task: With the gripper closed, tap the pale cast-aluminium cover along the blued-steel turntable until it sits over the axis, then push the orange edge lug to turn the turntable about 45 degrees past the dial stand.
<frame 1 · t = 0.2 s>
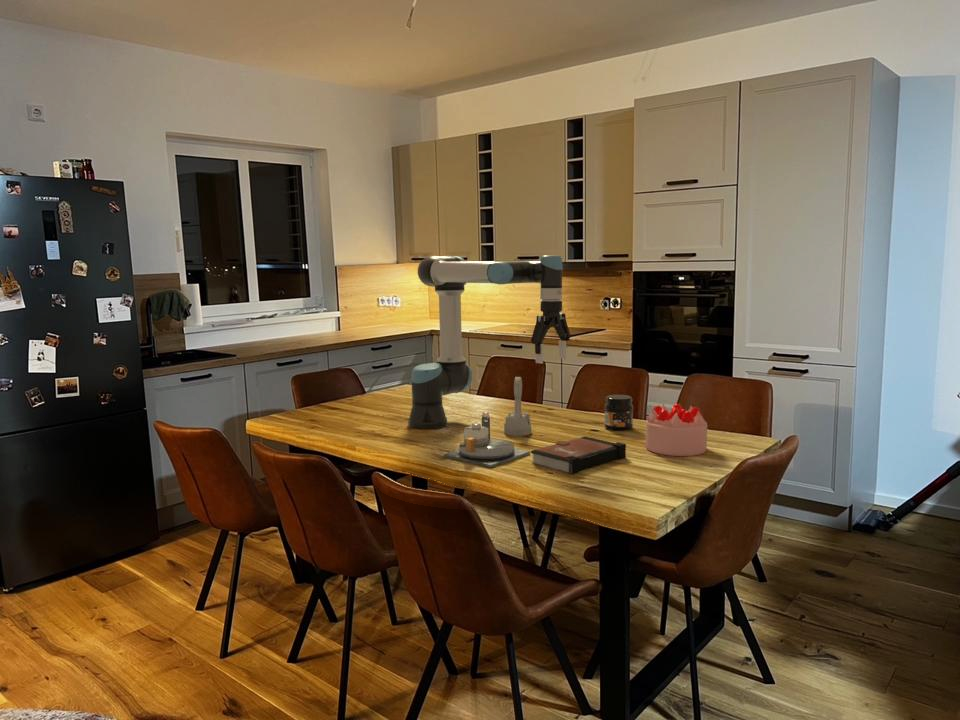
hand: (551, 361, 255), 28 cm above the table, fingers open, 13 cm apart
cover: (476, 443, 239), point 3 cm above the table, touching turntable
base plate: (486, 455, 237), on the table
book: (578, 462, 231), on the table
cake: (676, 449, 243), on the table
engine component: (517, 432, 269), on the table
turntable: (486, 442, 236), point 4 cm above the table, hinge at 0.0°, touching cover
supplement container: (618, 428, 273), on the table
dial stand: (486, 446, 249), resting on base plate
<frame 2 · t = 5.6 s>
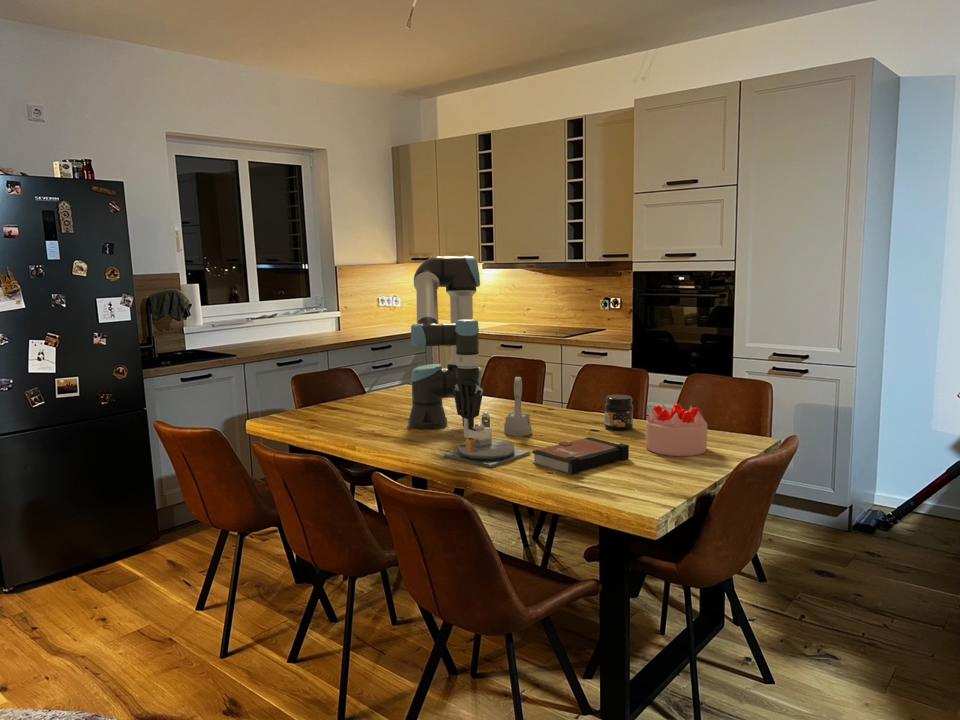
hand: (468, 437, 241), 5 cm above the table, fingers closed
cover: (479, 444, 239), point 3 cm above the table, touching gripper
turntable: (486, 442, 236), point 4 cm above the table, hinge at 0.0°
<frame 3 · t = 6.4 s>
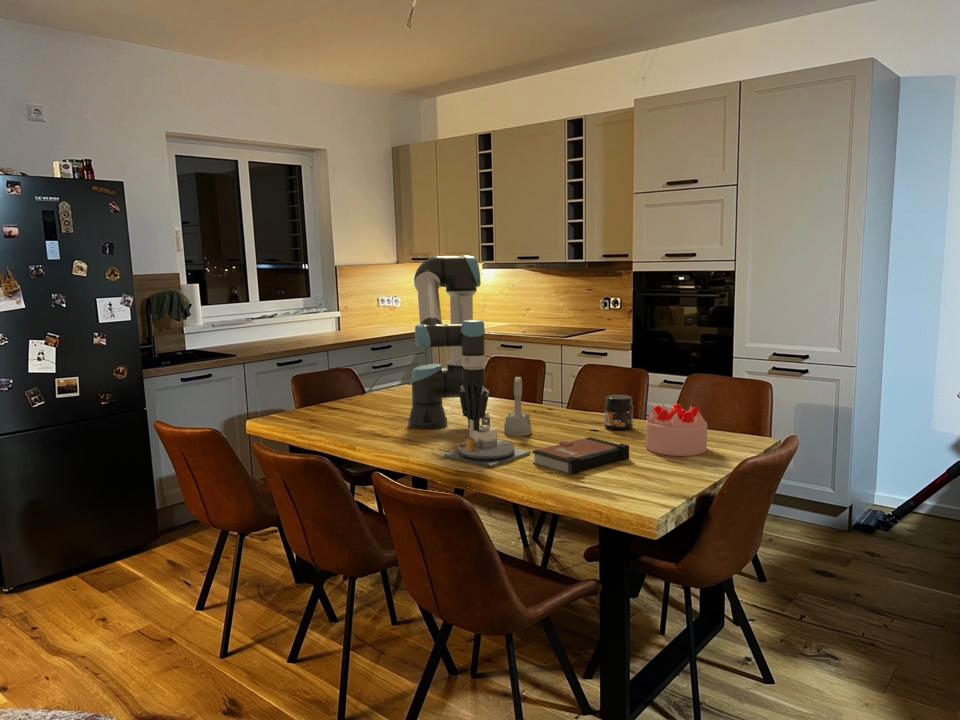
hand: (474, 438, 240), 5 cm above the table, fingers closed
cover: (485, 445, 237), point 3 cm above the table, touching gripper
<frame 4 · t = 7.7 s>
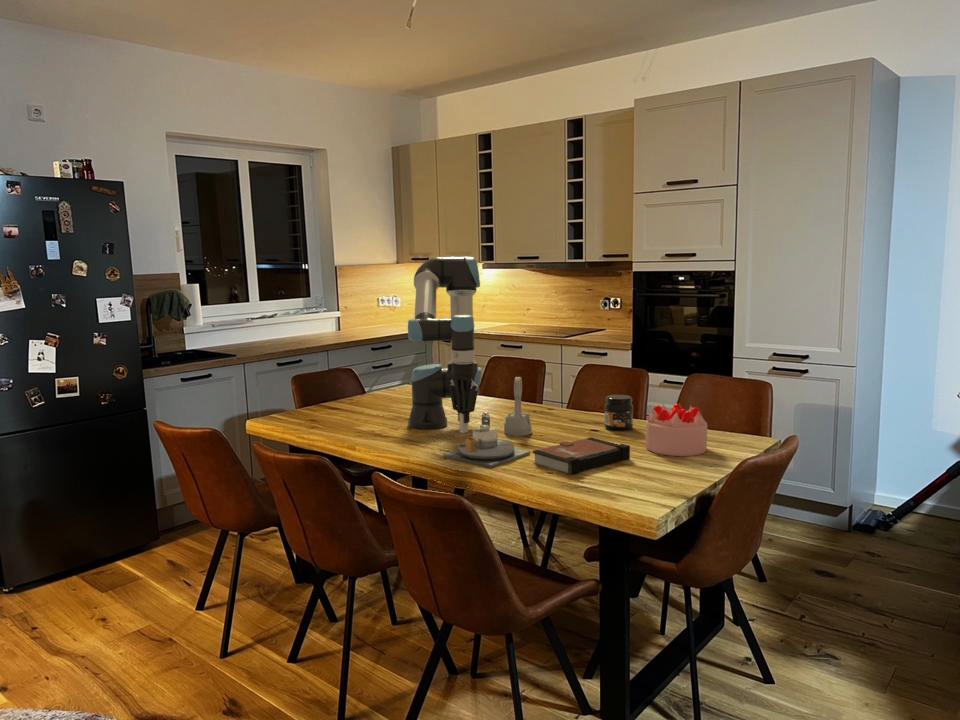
hand: (463, 431, 243), 6 cm above the table, fingers closed
cover: (485, 445, 237), point 3 cm above the table, touching turntable
turntable: (486, 442, 236), point 4 cm above the table, hinge at 0.1°, touching cover
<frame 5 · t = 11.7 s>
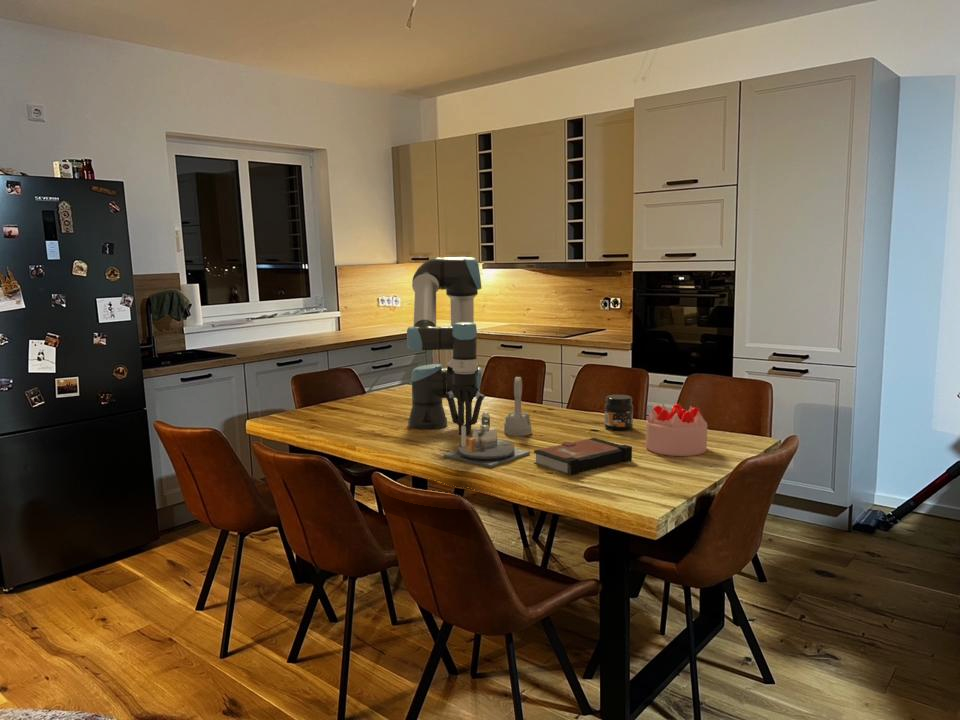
hand: (464, 445, 231), 5 cm above the table, fingers closed
turntable: (486, 442, 236), point 4 cm above the table, hinge at 1.8°, touching cover, gripper
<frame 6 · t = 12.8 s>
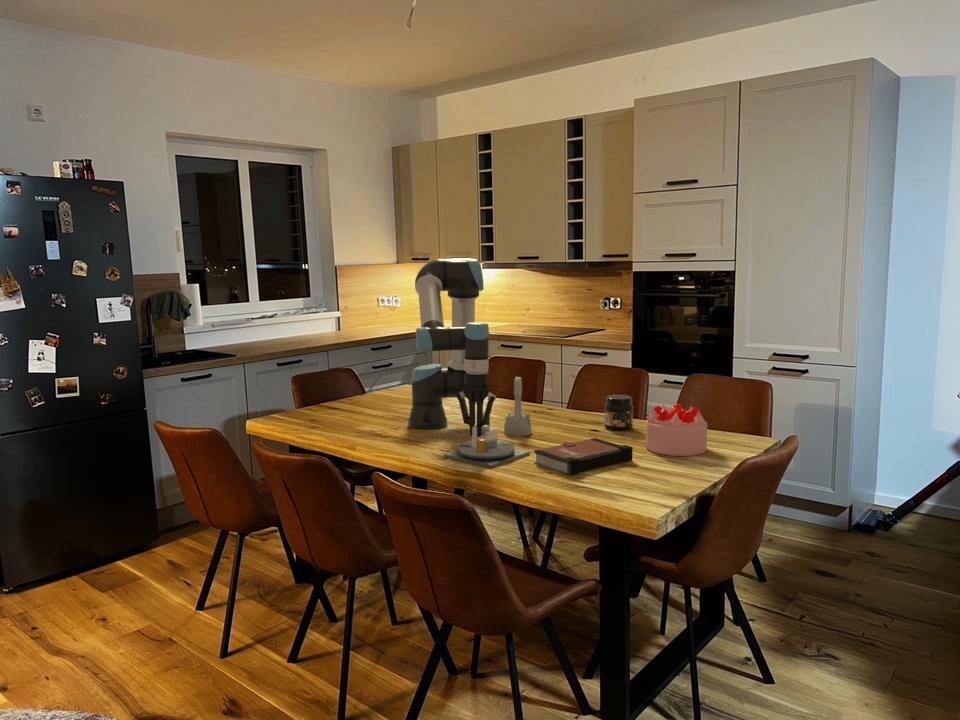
hand: (475, 446, 229), 5 cm above the table, fingers closed
turntable: (486, 442, 236), point 4 cm above the table, hinge at 28.4°, touching cover, gripper
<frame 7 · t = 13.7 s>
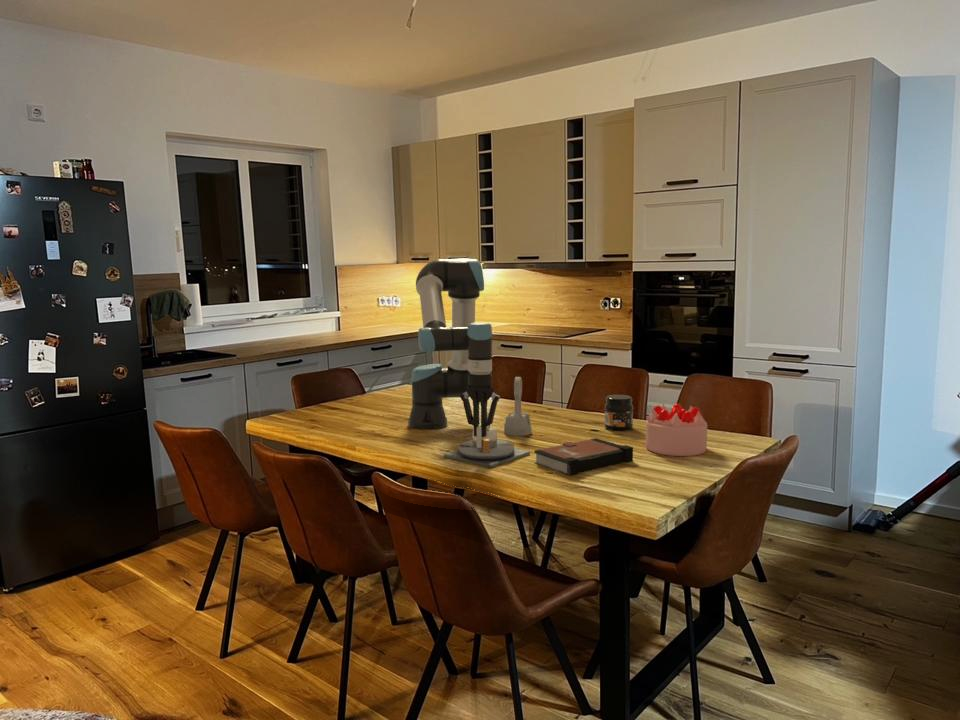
hand: (480, 446, 229), 5 cm above the table, fingers closed
turntable: (486, 442, 236), point 4 cm above the table, hinge at 39.1°, touching cover, gripper
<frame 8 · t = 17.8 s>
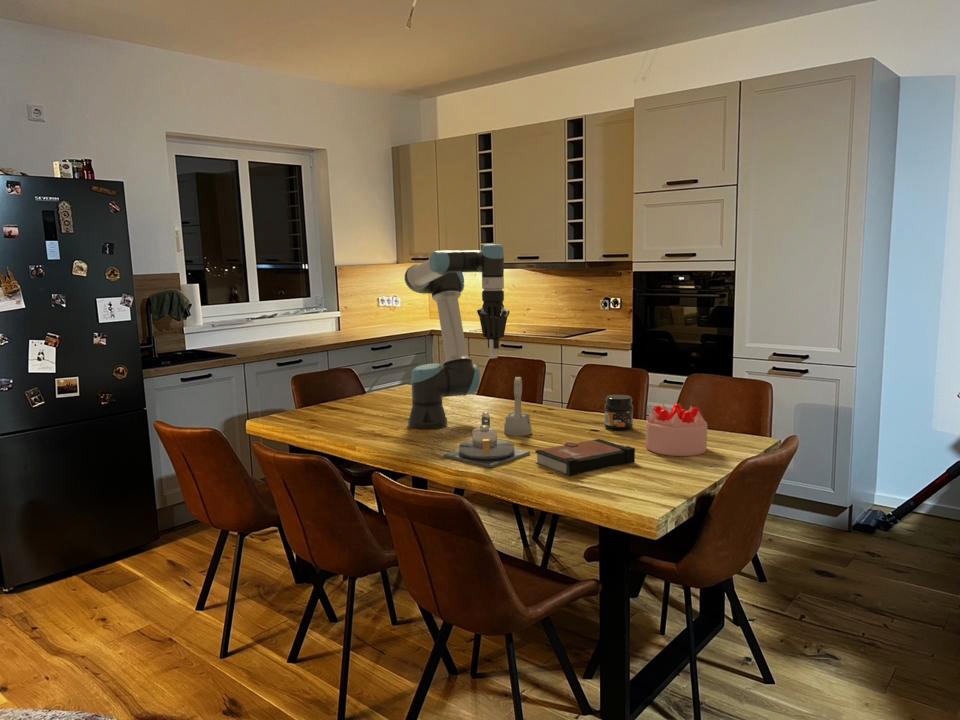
hand: (493, 357, 253), 29 cm above the table, fingers closed
turntable: (486, 442, 236), point 4 cm above the table, hinge at 39.2°, touching cover
at the end: cover 0.6 cm from the turntable (horizontally); turntable at +39° (first picture: +0°); cover tilted 1° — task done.
